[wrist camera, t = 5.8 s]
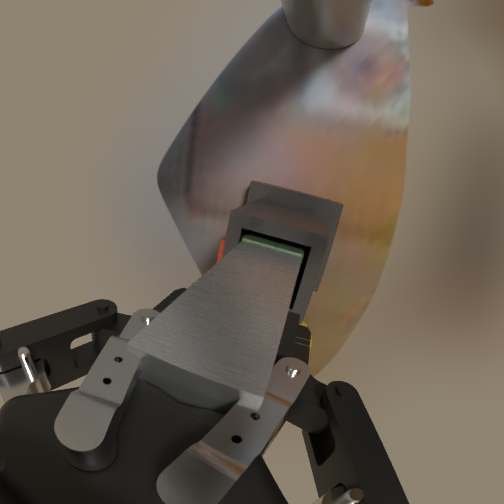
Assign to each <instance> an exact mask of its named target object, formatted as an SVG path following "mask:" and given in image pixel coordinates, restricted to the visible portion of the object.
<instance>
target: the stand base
mask: <svg viewBox="0 0 504 504" xmlns="http://www.w3.org/2000/svg"><path fill="white" fill-rule="evenodd" d="M342 208H343V204H341V203H338V202H335V201H331V200H328V199H324V198H321V197H317V196H313V195H310V194H306V193H302V192H298V191H294V190H291V189H287V188H283V187H279V186H275V185H270V184H266V183H262V182H258V181H251V183H250V188H249V193H248V197H247V202H246V205H243V206H241V207H239V208H236V209H234V210H232V211H231V214H230V219H229V224H228V229H227V234H226V237H224V238H222V239H221V241H220V247H219V252H218V258H217V262H218V261H220V260H221V259H222V258H223V257H224V256H225V255H226V254H228V253H229V252H230V251H231V250H232V249H233V248H234V247H236V246H237V245H238V244H239V243H240V242H241V241H242V238H243V237H244V236H245V235H249V234H250V233H252V232H253V231H255V232H259V233H263V234H266V235H270V236H274V237H277V238H281V239H284V240H288V241H292V242H295V243H299V244H302V245H304V248H303V251H304V255H303V258H302V262H301V265H300V269H299V272H298V276H297V279H296V282H295V286H294V290H293V294H292V298H291V302H290V306H289V310H288V311H290V312H293V313H297V314H300V320H299V324H302V321H303V318H304V315H305V312H306V309H307V307H308V304H309V301H310V298H311V295H312V292H313V290H314V291H317V290H318V287H319V284H320V281H321V278H322V275H323V272H324V269H325V266H326V263H327V260H328V256H329V253H330V250H331V247H332V243H333V240H334V237H335V233H336V230H337V226H338V223H339V219H340V216H341V212H342Z"/></svg>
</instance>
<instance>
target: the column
mask: <svg viewBox="0 0 504 504" xmlns="http://www.w3.org/2000/svg"><path fill="white" fill-rule="evenodd" d="M303 248H304V245H302V244H299V243H295V242H292V241H288V240H284V239H281V238H277V237H274V236H270V235H266V234H263V233H259V232H255V231H253V232H252V233H250V234H249V235H245V236H244V237H243V238H242V241H241V242H240V243H239V244H238V245H237V246H236V247H234V248H233V249H232V250H231V251H230V252H229V253H228V254H226V255H225V256H224V257H223V258H222V259H221V260H220V261H218V262H217V263H216V264H215V265H214V266H213V267H212V268H210V269H209V270H208V271H207V272H206V273H205V274H204V275H203V276H201V277H200V278H199V279H198V280H197V281H196V282H195V283H194V284H192V285H191V286H190V287H189V288H188V289H187V290H186V291H185V292H183V293H182V294H181V295H180V296H179V297H178V298H177V299H176V300H174V301H173V302H172V303H171V304H170V305H169V306H168V307H167V308H166V309H164V310H163V311H162V312H161V313H160V314H159V315H158V316H157V317H156V318H154V319H153V320H152V321H151V322H150V323H149V324H148V325H147V326H146V327H144V328H143V329H142V330H141V331H140V332H139V333H138V334H137V335H136V336H135V337H133V338H132V339H131V340H130V341H129V342H128V343H127V349H128V351H129V352H131V353H133V354H135V355H137V356H139V357H141V360H142V373H141V374H140V376H139V378H138V379H140V380H142V381H144V382H146V383H148V384H150V385H152V386H154V387H156V388H158V389H160V390H161V391H162V392H164V393H165V394H166V395H168V396H169V397H171V398H172V399H173V400H175V401H176V402H177V403H179V404H181V405H185V406H190V407H195V408H200V409H206V410H211V411H214V412H216V413H219V414H222V415H226V414H227V413H228V412H229V411H230V410H231V409H232V407H233V406H234V405H235V404H236V403H237V402H238V401H239V400H240V399H241V398H242V399H245V400H249V401H252V402H255V403H259V404H261V403H262V401H263V398H264V395H265V392H266V389H267V385H268V382H269V379H270V375H271V372H272V369H273V365H274V362H275V358H276V355H277V351H278V347H279V344H280V340H281V336H282V333H283V329H284V325H285V321H286V318H287V314H288V310H289V306H290V302H291V298H292V294H293V290H294V286H295V282H296V279H297V276H298V272H299V269H300V265H301V262H302V258H303V255H304V251H303Z"/></svg>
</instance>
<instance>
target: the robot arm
mask: <svg viewBox="0 0 504 504" xmlns="http://www.w3.org/2000/svg"><path fill="white" fill-rule="evenodd" d="M281 2H282V6H283V9H284V13H285V16H286V20H287V23H288V26H289V28H290V30H291V31H292V33H293V34H294V35H295V36H296V37H297V38H298V39H300V40H302V41H303V42H305V43H307V44H309V45H311V46H315V47H318V48H324V49H339V48H344V47H347V46H349V45H352V44H353V43H355V42H356V41H357V40H358V39H359V38H360V37H361V35H362V33H363V31H364V27H365V23H366V19H367V16H368V12H369V8H370V4H371V0H281ZM193 284H194V283H193ZM186 290H187V289H186V288H181V289H178V290H175V291H174V292H172V293H171V294H170V295H169V296H168V297H166V298H165V299H164V300H163V301H162V302H161V303H159V304H158V305H157V306H156V307H155V308H153V309H140V310H138V311H136V312H134V313H133V315H132V316H130V315H125V314H121V313H117V306H116V304H115V303H114V302H112V301H109V300H104V299H100V300H95V301H92V302H89V303H86V304H83V305H80V306H76V307H73V308H70V309H67V310H64V311H61V312H58V313H54V314H51V315H48V316H45V317H42V318H39V319H36V320H33V321H30V322H27V323H23V324H20V325H17V326H14V327H11V328H8V329H5V330H2V331H0V392H1V395H2V398H3V400H4V402H5V404H4V405H3V406H2V407H1V409H0V504H288V502H287V501H286V499H285V497H284V496H283V494H282V492H281V490H280V489H279V487H278V485H277V483H276V482H275V480H274V478H273V476H272V474H271V472H270V471H269V469H268V467H267V465H266V463H265V461H264V459H263V455H264V454H265V453H266V451H267V449H268V448H269V446H270V445H271V443H272V442H273V440H274V439H275V437H276V436H277V434H278V432H279V431H280V430H281V428H282V427H283V425H284V423H285V422H286V421H288V422H290V423H292V424H294V425H296V426H298V427H300V428H301V429H302V434H303V437H304V441H305V445H306V449H307V453H308V457H309V461H310V465H311V469H312V472H313V476H314V480H315V484H316V488H317V492H318V496H319V499H317V500H316V501H315V502H314V503H313V504H409V502H408V500H407V498H406V495H405V493H404V491H403V488H402V486H401V484H400V482H399V479H398V477H397V475H396V472H395V470H394V468H393V466H392V463H391V461H390V459H389V457H388V455H387V452H386V450H385V448H384V446H383V444H382V442H381V440H380V437H379V435H378V433H377V431H376V429H375V427H374V425H373V422H372V421H371V418H370V416H369V414H368V412H367V410H366V408H365V406H364V404H363V402H362V400H361V398H360V396H359V394H358V392H357V390H356V389H355V388H354V387H353V386H352V385H350V384H348V383H346V382H343V381H333V382H331V383H329V384H328V385H325V384H323V383H321V382H319V381H317V380H316V379H315V378H314V377H312V375H311V374H310V368H309V367H308V360H309V351H310V341H311V332H310V330H309V328H308V327H306V326H303V325H299V320H300V314H297V313H293V312H290V311H288V314H287V318H286V321H285V325H284V329H283V333H282V336H281V340H280V344H279V347H278V351H277V355H276V358H275V362H274V365H273V369H272V372H271V375H270V379H269V382H268V385H267V389H266V392H265V395H264V398H263V401H262V403H261V404H259V403H255V402H252V401H249V400H245V399H242V398H241V399H240V400H239V401H238V402H237V403H236V404H235V405H234V406H233V407H232V409H231V410H230V411H229V412H228V413H227V414H226V415H222V414H219V413H216V412H214V411H211V410H206V409H200V408H195V407H190V406H185V405H181V404H179V403H177V402H176V401H175V400H173V399H172V398H171V397H169V396H168V395H166V394H165V393H164V392H162V391H161V390H160V389H158V388H156V387H154V386H152V385H150V384H148V383H146V382H144V381H142V380H140V379H138V378H139V376H140V374H141V373H142V360H141V357H139V356H137V355H135V354H133V353H131V352H129V351H128V349H127V343H128V342H129V341H130V340H131V339H132V338H133V337H135V336H136V335H137V334H138V333H139V332H140V331H141V330H142V329H143V328H144V327H146V326H147V325H148V324H149V323H150V322H151V321H152V320H153V319H154V318H156V317H157V316H158V315H159V314H160V313H161V312H162V311H163V310H164V309H166V308H167V307H168V306H169V305H170V304H171V303H172V302H173V301H174V300H176V299H177V298H178V297H179V296H180V295H181V294H182V293H183V292H185V291H186ZM89 333H91V334H92V341H91V342H88V343H86V344H83V345H81V346H78V347H76V348H74V349H70V345H71V342H72V341H73V340H74V339H76V338H79V337H81V336H84V335H87V334H89ZM85 375H86V377H85V379H84V381H83V382H82V384H81V386H80V387H76V388H70V389H64V390H57V391H51V390H53V389H55V388H58V387H60V386H62V385H64V384H67V383H69V382H71V381H73V380H76V379H78V378H80V377H82V376H85ZM49 391H50V392H49Z"/></svg>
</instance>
